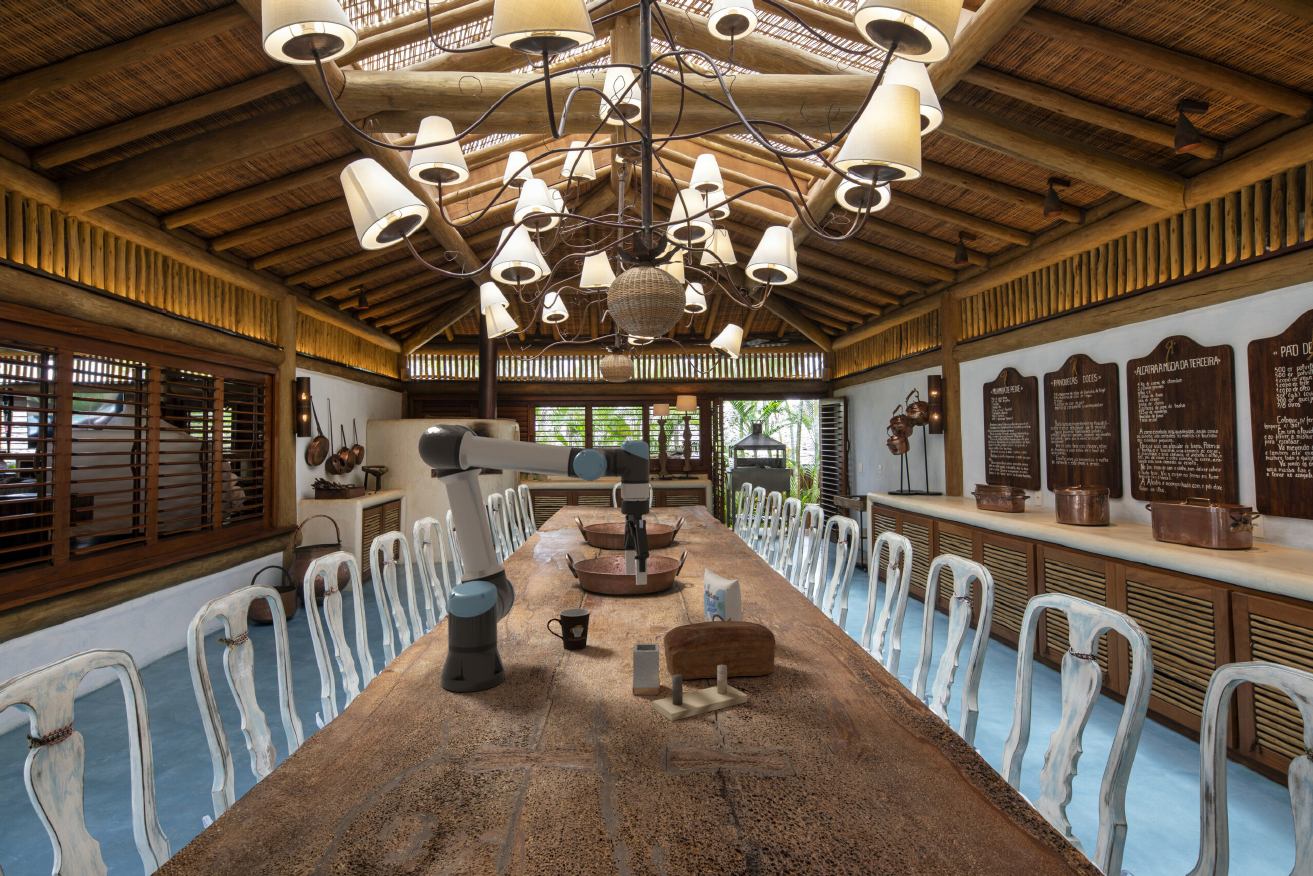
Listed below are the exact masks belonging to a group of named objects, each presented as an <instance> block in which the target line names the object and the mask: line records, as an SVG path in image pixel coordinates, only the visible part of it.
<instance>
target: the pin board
mask: <svg viewBox="0 0 1313 876" xmlns="http://www.w3.org/2000/svg"><path fill="white" fill-rule="evenodd" d="M671 676H672V675H671ZM716 679H717V685H715V686H711V687H707V688H703V689H698V690H694V691H689V692H687V693H683V692H684V691H683V679H682V675H680V674H675V675H673V676H672V679H671V681H672V688H671V689H672V691H671V692H672V696H669V697H664V698H660V699H655V700H652V709H653V710H655V711H657V712H658V713H659V714H661V715H662V716H663V717H665V718H667V719H668V720H669V721H671V722H672V721H673V722H674V721H677V720H681V719H685V718H688V717H692V716H693V717H694V716H697V715H700V714H704V713H708V712H709V713H710V712H713V711H716V710H719V709H720V710H721V709H724V708H728V707H731V706H736V705H739V704H740V705H741V704H743V703H747V702H748V694H746V693H744V692H742V691H740V690H738V689H737V688H735V687H732V686H731V685H729V684H728V677H727V666H726V665H718V666H717V678H716Z"/></svg>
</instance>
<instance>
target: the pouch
mask: <svg viewBox="0 0 1313 876" xmlns="http://www.w3.org/2000/svg"><path fill="white" fill-rule="evenodd" d="M704 570H705V571H704V573H703V575H704V577H703V607H704V608H703V610H704V613H703V615H704V622H710V621H743V616H742V614H743V613H742V592H741V585H740V582H739V580H738V578H736V579H734V580H732V579H726V578H723V577H722V576H721V575H718V574H716V573H715V572H713V571H712V570H710V569H708V568H707V567H705V569H704Z"/></svg>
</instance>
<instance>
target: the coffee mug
mask: <svg viewBox="0 0 1313 876" xmlns="http://www.w3.org/2000/svg"><path fill="white" fill-rule="evenodd" d="M590 615H591V611H590V610H589V609H586V608H568V609H563V610H561V611H559V619H558V618H551V619H550V620H548V621H547V623H546V628H547V630H548V632H550V633H551V634H552V635H554V636H556V637H558V638H559V639H561V640H562V643H563V649H564V650H566V651H573V652H574V651H581V650H584V649H586V648H587V642H588V633H589V631H588V630H589V624H590V623H589V622H590ZM553 621H556V622H557V623H559V625H560V627H561V634H562V635H559V634H557V633H556V632H554V631H552V629H551V628H550V624H551V622H553Z"/></svg>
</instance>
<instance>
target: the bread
mask: <svg viewBox="0 0 1313 876" xmlns="http://www.w3.org/2000/svg"><path fill="white" fill-rule="evenodd" d="M663 644H664V655H665V656H664V657H665V663H666V669H667V672H669V673H668V674H670V675H671V676H673V675H675V674H680V675H682V680H689V681H690V680H696V679H710V678H714V679H715V678H716V679H717V666H718V665H726V666H727V678H733V677H746V676H747V677H748V676H751V677H755V676H758V677H759V676H766V675H769V674H772V672H773V671H774V669H775V657H776V656H775V655H776V653H775V652H776V651H775V649H776V648H775V647H776V638H775V635H774V633H773V631H771V630H770V629H769V628H768V627H766V626H765V625H763V624H761V623H755V622H751V621H743V620H742V621H710V622H705V621H703V622H697V623H690V624H684V625H679V626H675V627H674V628H672V629H671V630H669V631H668V632H667V633H666V634H665V636H664V637H663Z"/></svg>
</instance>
